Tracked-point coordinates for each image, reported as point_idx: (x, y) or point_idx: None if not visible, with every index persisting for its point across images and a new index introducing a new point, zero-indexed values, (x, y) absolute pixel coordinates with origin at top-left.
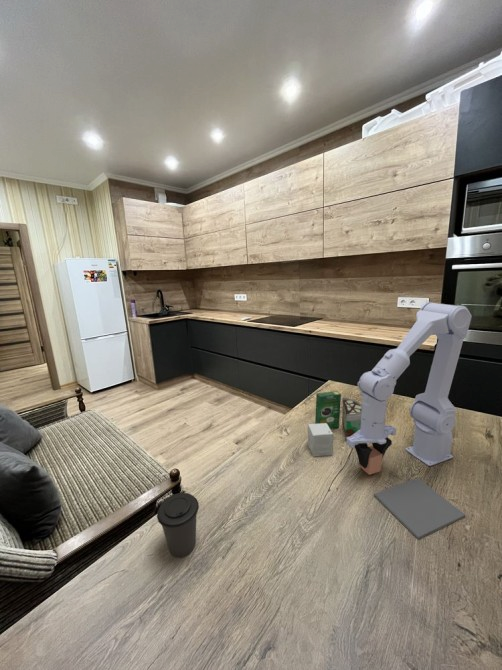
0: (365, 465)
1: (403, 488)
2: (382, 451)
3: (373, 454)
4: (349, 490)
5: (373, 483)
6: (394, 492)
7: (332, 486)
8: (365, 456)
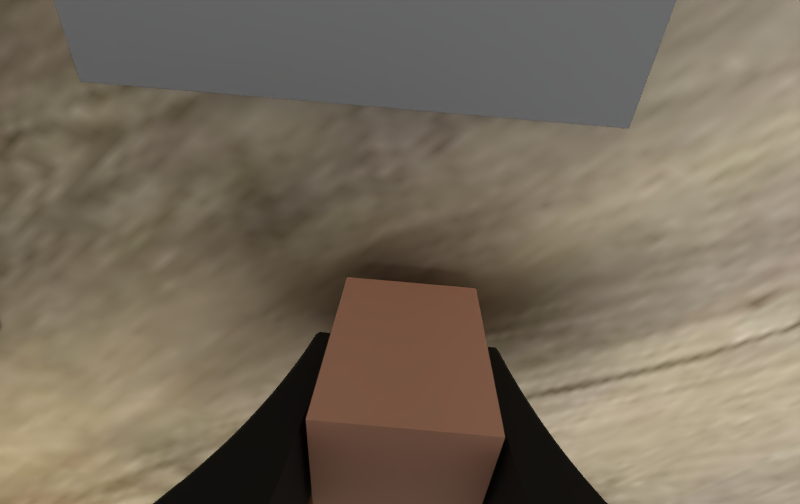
0: (507, 370)
1: (318, 38)
2: (288, 457)
3: (409, 454)
4: (709, 253)
5: (486, 220)
6: (447, 43)
7: (761, 326)
8: (597, 496)
